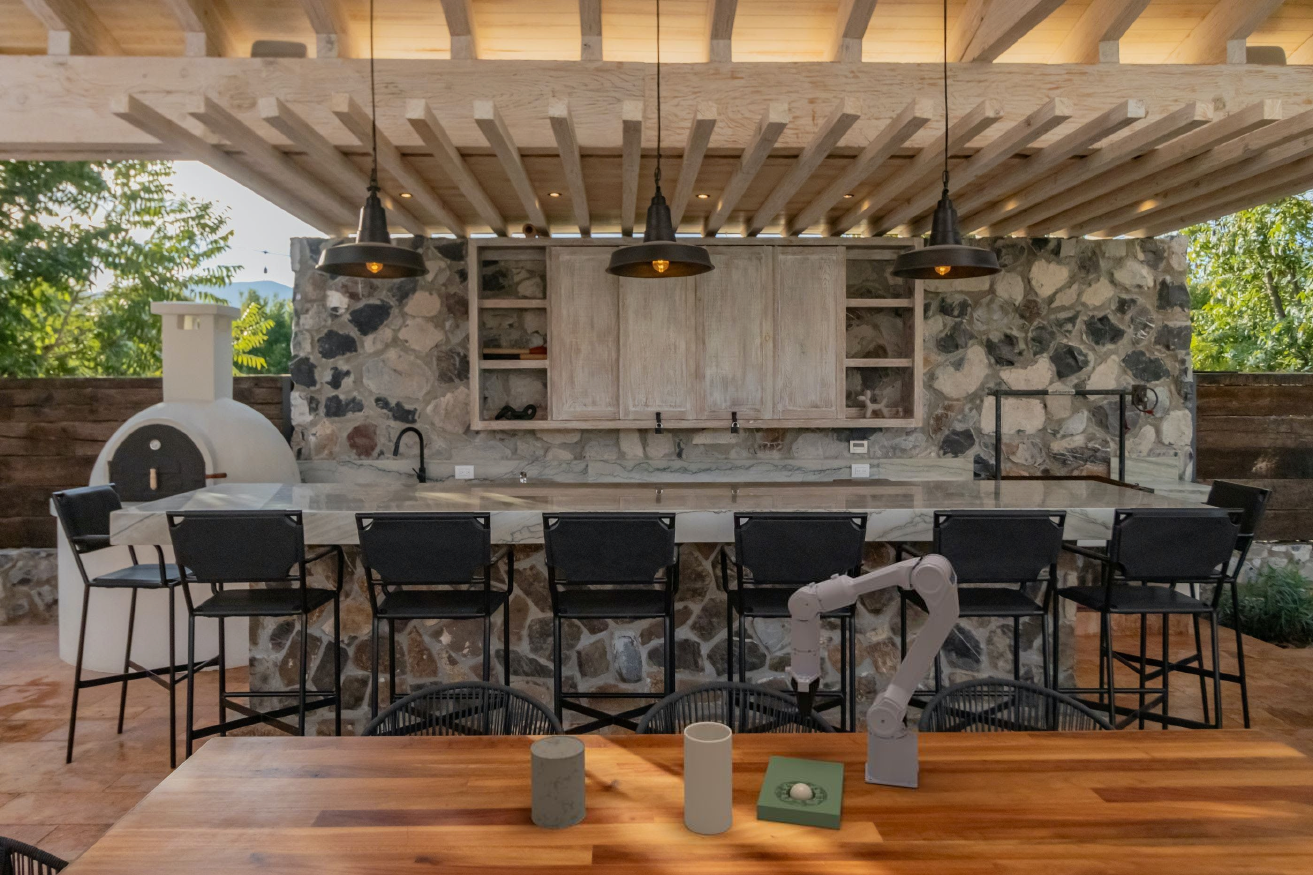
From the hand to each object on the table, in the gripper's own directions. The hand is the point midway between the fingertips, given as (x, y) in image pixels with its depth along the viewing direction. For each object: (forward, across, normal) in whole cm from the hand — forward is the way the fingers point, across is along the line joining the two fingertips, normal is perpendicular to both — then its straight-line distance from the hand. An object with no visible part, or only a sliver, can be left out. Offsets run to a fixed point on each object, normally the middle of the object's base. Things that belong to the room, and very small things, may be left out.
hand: (805, 714), depth 164 cm
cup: (+10, +28, -15) cm, 33 cm away
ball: (+7, +19, 0) cm, 20 cm away
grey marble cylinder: (+10, +31, -41) cm, 52 cm away
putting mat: (+9, +15, 0) cm, 18 cm away
